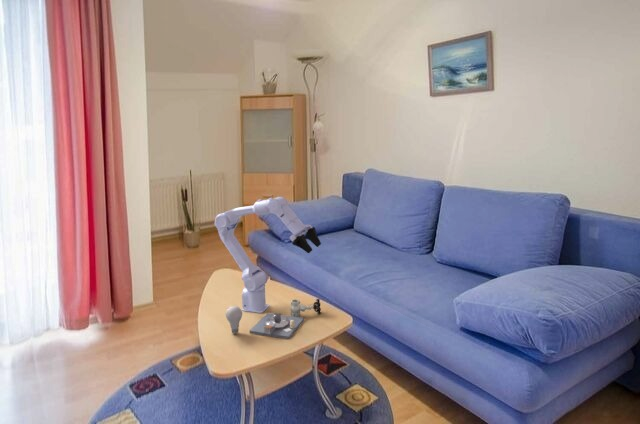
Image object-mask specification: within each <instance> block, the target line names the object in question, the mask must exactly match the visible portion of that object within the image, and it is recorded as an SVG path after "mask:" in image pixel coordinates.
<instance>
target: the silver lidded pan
mask: <svg viewBox="0 0 640 424" xmlns="http://www.w3.org/2000/svg"><path fill="white" fill-rule="evenodd" d="M272 314H273V317H270V318H268V319H267V320H266V326H265V327H264V330H265V334H271V333H272V332H273V331H274V330H275V329H280V328H284V327H286V326H288V324H289V319H288V318H286V317H283V316H281V315H282V314H281V312H275V313H272Z"/></svg>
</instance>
